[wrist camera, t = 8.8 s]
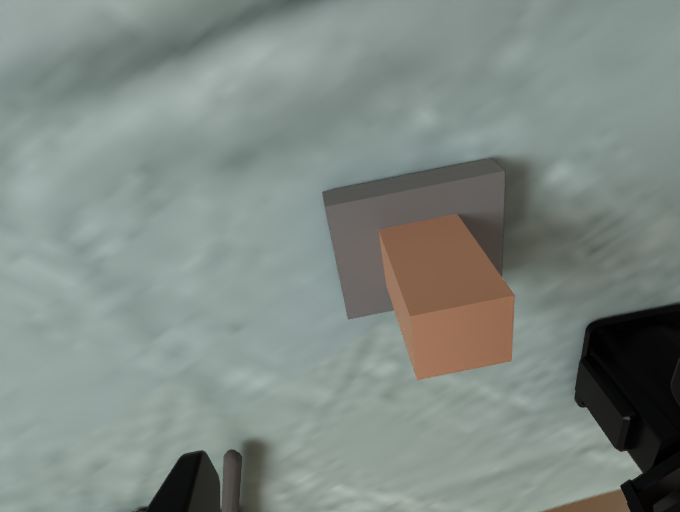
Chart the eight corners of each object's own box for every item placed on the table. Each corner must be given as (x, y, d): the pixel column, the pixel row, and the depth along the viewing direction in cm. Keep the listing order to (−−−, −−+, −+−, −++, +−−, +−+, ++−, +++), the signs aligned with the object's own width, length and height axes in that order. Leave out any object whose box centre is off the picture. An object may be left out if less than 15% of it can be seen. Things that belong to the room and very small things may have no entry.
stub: (491, 157, 19) (582, 242, 13) (489, 271, 22) (563, 379, 16) (322, 191, 19) (339, 290, 13) (344, 300, 22) (366, 419, 16)
